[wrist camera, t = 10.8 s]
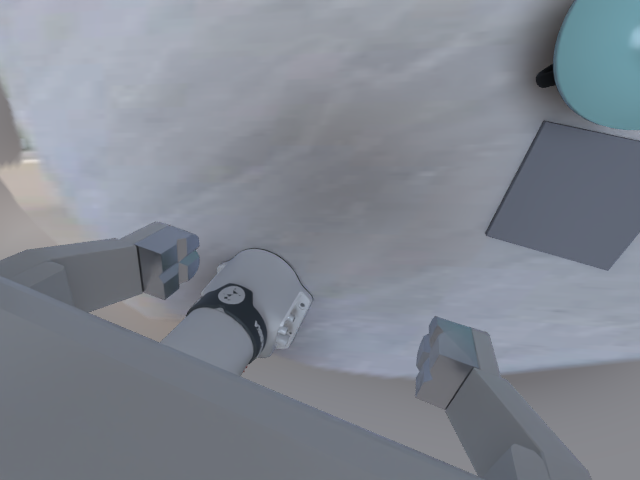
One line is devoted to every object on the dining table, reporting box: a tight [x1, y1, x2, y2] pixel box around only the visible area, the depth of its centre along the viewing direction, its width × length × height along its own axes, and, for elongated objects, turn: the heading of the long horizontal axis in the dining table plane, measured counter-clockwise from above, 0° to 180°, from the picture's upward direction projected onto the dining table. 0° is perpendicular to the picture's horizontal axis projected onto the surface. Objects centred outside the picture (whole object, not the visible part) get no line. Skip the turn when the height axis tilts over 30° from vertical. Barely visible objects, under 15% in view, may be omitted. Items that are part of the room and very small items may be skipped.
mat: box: [486, 121, 640, 271], centre depth 35 cm, size 14×14×1 cm
